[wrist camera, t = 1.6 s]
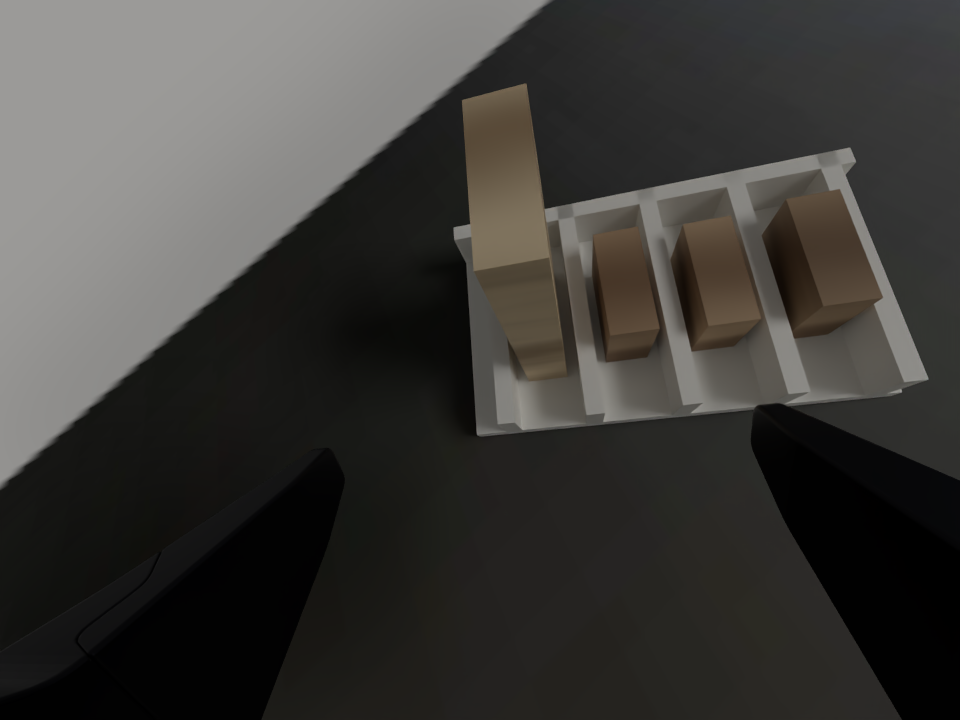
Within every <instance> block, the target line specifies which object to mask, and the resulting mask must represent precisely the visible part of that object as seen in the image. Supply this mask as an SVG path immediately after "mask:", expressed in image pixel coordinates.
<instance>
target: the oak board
mask: <svg viewBox="0 0 960 720" xmlns="http://www.w3.org/2000/svg"><path fill="white" fill-rule="evenodd" d="M462 106H463V121H464V136H465V151H466V166H467V180H468V195H469V210H470V225H471V240H472V255H473V269H474V273H475V275H476V277H477V279H478V281H479V283H480V285H481V287H482V289H483V291H484V293H485V295H486V297H487V299H488V301H489V303H490V305H491V307H492V309H493V311H494V313H495V315H496V317H497V318H498V320H499V322H500V324H501V326H502V328H503V330H504V332H505V334H506V336H507V338H508V340H509V342H510V344H511V346H512V348H513V350H514V352H515V354H516V356H517V358H518V360H519V362H520V364H521V366H522V368H523V370H524V372H525V374H526V376H527V378H528V380H529V382H530V381H538V380H546V379H554V378H563V377H568V375H567V367H566V360H565V352H564V345H563V337H562V330H561V322H560V315H559V307H558V300H557V292H556V285H555V277H554V270H553V263H552V257H551V250H550V243H549V236H548V229H547V222H546V216H545V209H544V202H543V195H542V188H541V181H540V174H539V168H538V161H537V154H536V147H535V140H534V133H533V127H532V120H531V113H530V106H529V99H528V92H527V86H526V84H522V85H518V86H514V87H510V88H507V89H503V90H499V91H495V92H491V93H488V94H484V95H480V96H476V97H472V98H469V99H465V100H462Z"/></svg>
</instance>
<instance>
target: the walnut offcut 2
mask: <svg viewBox="0 0 960 720" xmlns="http://www.w3.org/2000/svg"><path fill="white" fill-rule="evenodd" d="M670 261H671V266H672V270H673V274H674V279H675V283H676V287H677V292H678V296H679V300H680V304H681V309H682V313H683V317H684V322H685V326H686V330H687V335H688V339H689V343H690V347H691V352H693V351H701V350H709V349H717V348H725V347H733V346H735V345H736V344H737V343H738V342H739V341H740V340H741V339H742V338H743V337H744V336H745V335H746V334H747V333H748V332H749V331H750V330H751V329H752V328H753V327H754V326H755V325H756V324H757V323H758V322H759V321H760V320H761V316H760V312H759V309H758V306H757V302H756V299H755V295H754V292H753V289H752V285H751V282H750V278H749V275H748V272H747V268H746V265H745V261H744V258H743V255H742V251H741V248H740V244H739V241H738V238H737V234H736V231H735V227H734V224H733V221H732V217H731V216H725V217H720V218H714V219H709V220H703V221H698V222H692V223H687V224H683V225H682V228H681V231H680V234H679V237H678V239H677V242H676V245H675V248H674V251H673V253H672V256H671V259H670Z"/></svg>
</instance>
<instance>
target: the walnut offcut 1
mask: <svg viewBox="0 0 960 720" xmlns="http://www.w3.org/2000/svg"><path fill="white" fill-rule="evenodd" d="M592 280H593V286H594V292H595V298H596V305H597V311H598V317H599V323H600V329H601V335H602V341H603V347H604V353H605V359H606V363H607V362H615V361H623V360H631V359H638V358H646V357H648V354H649V352H650V350H651V348H652V345H653V343H654V341H655V339H656V336H657V334H658V332H659V330H660V327H659V322H658V318H657V313H656V308H655V304H654V299H653V294H652V289H651V285H650V280H649V275H648V271H647V266H646V261H645V256H644V252H643V247H642V242H641V237H640V233H639V228H638V227H632V228H627V229H621V230H616V231H611V232H605V233H600V234H595V235H593V248H592Z"/></svg>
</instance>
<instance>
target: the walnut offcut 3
mask: <svg viewBox="0 0 960 720" xmlns="http://www.w3.org/2000/svg"><path fill="white" fill-rule="evenodd" d="M762 239H763V242H764V245H765V248H766V251H767V255H768V258H769V261H770V264H771V267H772V270H773V274H774V277H775V280H776V283H777V286H778V289H779V293H780V296H781V299H782V302H783V305H784V308H785V312H786V315H787V318H788V321H789V324H790V327H791V331H792V334H793V337H794V339H796V338H804V337H812V336H820V335H828V334H829V333H831V332H832V331H834V330H835V329H837V328H838V327H840V326H841V325H843V324H844V323H846V322H847V321H849V320H851V319H852V318H854V317H855V316H857V315H858V314H860V313H861V312H863V311H864V310H866V309H867V308H869V307H870V306H872V305H873V304H875V303H876V302H878V301H879V300H881V299H882V298H883V296H882V293H881V291H880V288H879V286H878V283H877V281H876V278H875V276H874V273H873V271H872V268H871V266H870V263H869V261H868V258H867V256H866V253H865V251H864V248H863V246H862V243H861V241H860V238H859V236H858V233H857V231H856V228H855V226H854V223H853V221H852V218H851V215H850V213H849V210H848V208H847V205H846V203H845V200H844V198H843V195H842V193H841V190H840V189H837V190H832V191H826V192H821V193H815V194H810V195H805V196H799V197H794V198H789V199H786V200H785V201H784V203H783V204H782V206H781V207H780V209H779V210H778V212H777V213H776V215H775V216H774V218H773V219H772V221H771V222H770V224H769V225H768V227H767V228H766V229H765V231H764V232H763V234H762Z"/></svg>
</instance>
